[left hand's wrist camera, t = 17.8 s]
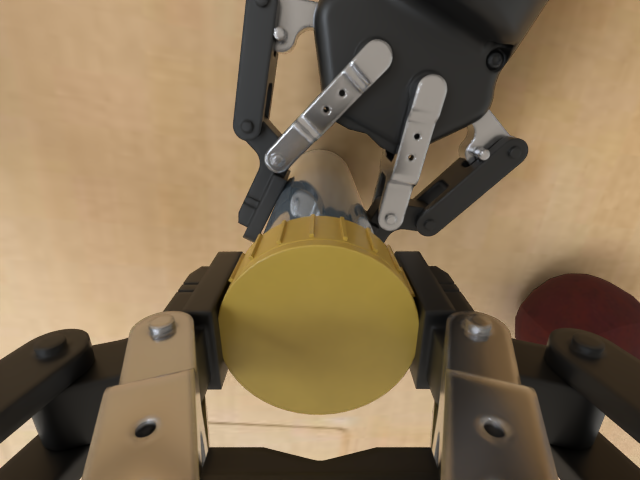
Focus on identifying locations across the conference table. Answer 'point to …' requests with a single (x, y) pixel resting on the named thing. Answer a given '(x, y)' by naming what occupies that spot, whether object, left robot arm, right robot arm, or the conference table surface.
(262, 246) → the lid
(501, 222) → the conference table surface
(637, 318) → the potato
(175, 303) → the left robot arm
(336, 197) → the grey tall cylinder
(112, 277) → the conference table surface
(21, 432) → the conference table surface
